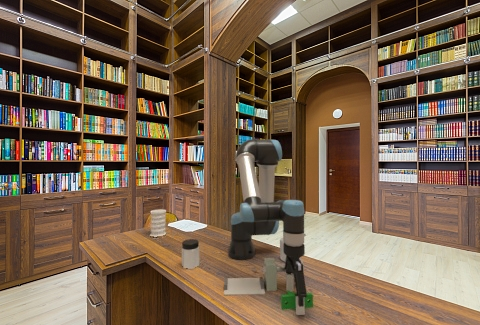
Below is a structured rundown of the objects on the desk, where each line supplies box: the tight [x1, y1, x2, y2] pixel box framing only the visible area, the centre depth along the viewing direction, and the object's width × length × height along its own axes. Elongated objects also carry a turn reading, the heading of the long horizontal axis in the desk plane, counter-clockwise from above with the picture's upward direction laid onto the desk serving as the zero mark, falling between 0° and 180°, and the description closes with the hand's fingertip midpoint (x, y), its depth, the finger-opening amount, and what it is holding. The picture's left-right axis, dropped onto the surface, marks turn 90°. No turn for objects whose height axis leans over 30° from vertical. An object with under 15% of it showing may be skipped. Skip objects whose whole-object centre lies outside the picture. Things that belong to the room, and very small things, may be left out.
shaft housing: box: [263, 257, 278, 292], centre depth 91 cm, size 7×4×10 cm, turn 1°
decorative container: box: [149, 208, 167, 237], centre depth 158 cm, size 12×12×18 cm
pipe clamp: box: [280, 290, 314, 310], centre depth 78 cm, size 11×4×5 cm, turn 96°
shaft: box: [262, 257, 305, 273], centre depth 91 cm, size 6×16×8 cm, turn 91°
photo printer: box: [279, 237, 286, 263], centre depth 113 cm, size 10×4×12 cm, turn 29°
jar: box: [181, 238, 200, 270], centre depth 110 cm, size 9×8×12 cm
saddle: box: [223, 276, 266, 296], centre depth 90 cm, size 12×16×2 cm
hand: (294, 301), depth 80 cm, fingers open, 13 cm apart
